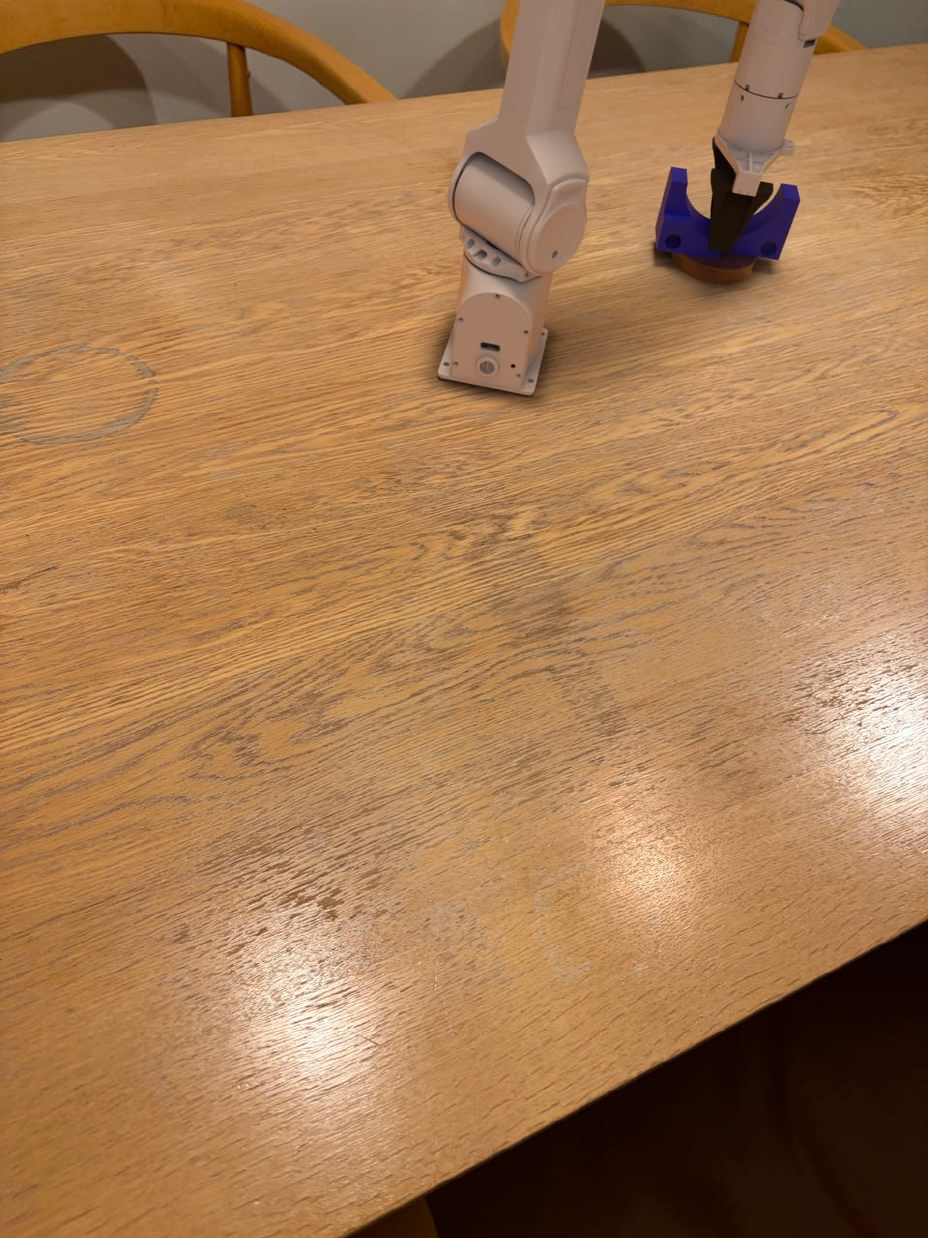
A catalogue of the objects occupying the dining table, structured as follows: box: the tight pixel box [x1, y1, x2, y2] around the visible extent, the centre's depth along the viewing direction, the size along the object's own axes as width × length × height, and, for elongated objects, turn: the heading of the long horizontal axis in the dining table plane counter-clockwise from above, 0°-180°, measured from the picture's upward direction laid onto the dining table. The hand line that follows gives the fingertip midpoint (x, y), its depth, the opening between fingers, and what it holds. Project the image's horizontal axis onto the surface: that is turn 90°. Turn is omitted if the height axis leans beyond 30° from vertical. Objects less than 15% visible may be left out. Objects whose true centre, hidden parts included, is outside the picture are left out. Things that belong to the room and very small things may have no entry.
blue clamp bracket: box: [654, 166, 802, 261], centre depth 94 cm, size 12×4×6 cm, turn 84°
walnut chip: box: [670, 252, 757, 285], centre depth 97 cm, size 8×8×2 cm
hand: (719, 233), depth 95 cm, fingers open, 5 cm apart
